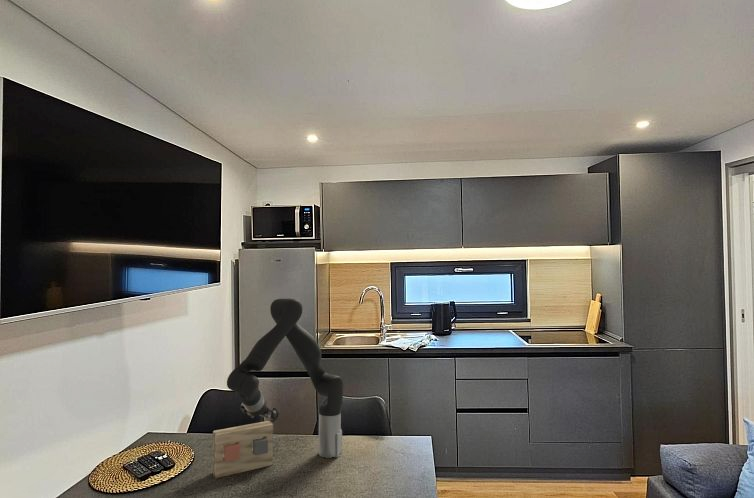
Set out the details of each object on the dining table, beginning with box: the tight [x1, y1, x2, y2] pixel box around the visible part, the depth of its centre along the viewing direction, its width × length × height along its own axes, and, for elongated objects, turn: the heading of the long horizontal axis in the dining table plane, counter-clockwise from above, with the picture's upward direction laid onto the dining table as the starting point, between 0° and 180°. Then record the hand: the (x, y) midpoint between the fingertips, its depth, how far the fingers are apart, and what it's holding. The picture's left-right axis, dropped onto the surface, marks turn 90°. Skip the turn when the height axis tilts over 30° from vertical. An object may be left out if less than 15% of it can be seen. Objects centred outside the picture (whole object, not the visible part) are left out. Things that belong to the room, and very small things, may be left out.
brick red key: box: [223, 442, 240, 462], centre depth 174 cm, size 3×5×5 cm, turn 122°
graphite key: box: [252, 437, 268, 455], centre depth 180 cm, size 3×5×5 cm, turn 122°
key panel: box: [212, 420, 274, 479], centre depth 181 cm, size 5×22×16 cm, turn 122°
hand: (263, 417), depth 183 cm, fingers open, 8 cm apart
